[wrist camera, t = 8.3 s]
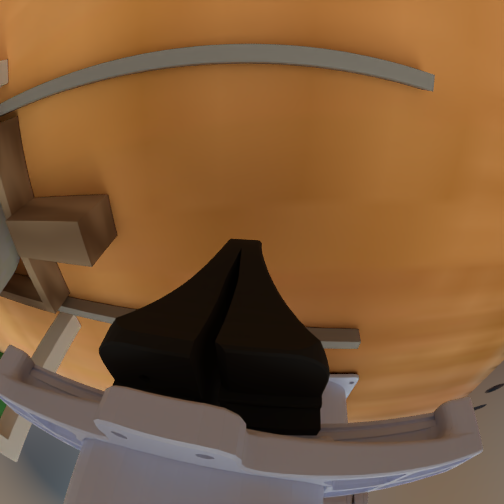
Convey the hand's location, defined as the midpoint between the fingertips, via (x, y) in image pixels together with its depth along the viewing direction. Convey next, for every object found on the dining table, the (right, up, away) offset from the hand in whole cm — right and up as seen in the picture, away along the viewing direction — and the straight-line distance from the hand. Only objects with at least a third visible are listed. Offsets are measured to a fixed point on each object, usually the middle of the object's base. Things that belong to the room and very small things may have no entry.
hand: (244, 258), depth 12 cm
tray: (-20, +3, +4) cm, 21 cm away
